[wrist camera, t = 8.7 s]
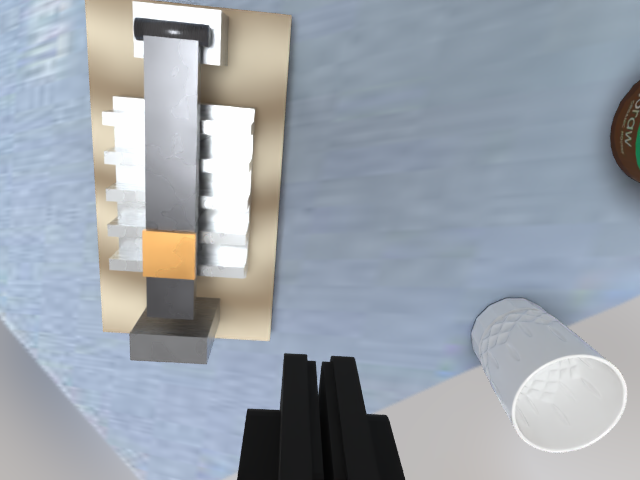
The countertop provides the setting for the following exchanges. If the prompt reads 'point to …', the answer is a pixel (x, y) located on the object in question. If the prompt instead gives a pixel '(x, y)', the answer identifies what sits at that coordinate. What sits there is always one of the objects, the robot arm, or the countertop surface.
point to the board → (216, 88)
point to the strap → (171, 163)
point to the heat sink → (213, 202)
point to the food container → (627, 133)
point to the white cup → (547, 377)
